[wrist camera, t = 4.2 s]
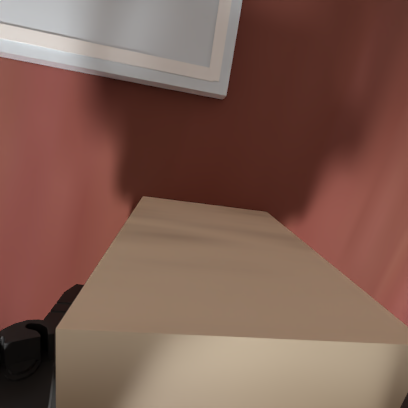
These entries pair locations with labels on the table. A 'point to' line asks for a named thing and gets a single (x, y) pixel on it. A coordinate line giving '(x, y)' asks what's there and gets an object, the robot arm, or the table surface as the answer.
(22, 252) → the table surface
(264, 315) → the maple block
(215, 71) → the white tray
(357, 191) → the table surface
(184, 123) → the table surface
